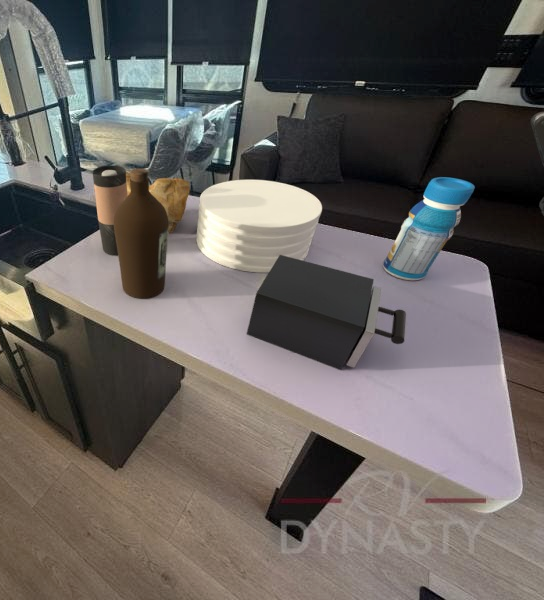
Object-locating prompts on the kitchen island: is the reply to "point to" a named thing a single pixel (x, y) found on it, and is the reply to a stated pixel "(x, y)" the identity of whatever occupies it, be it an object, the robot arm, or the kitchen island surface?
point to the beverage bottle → (427, 228)
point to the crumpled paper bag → (169, 197)
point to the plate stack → (256, 223)
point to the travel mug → (109, 201)
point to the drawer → (369, 329)
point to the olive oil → (141, 239)
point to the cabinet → (311, 310)
